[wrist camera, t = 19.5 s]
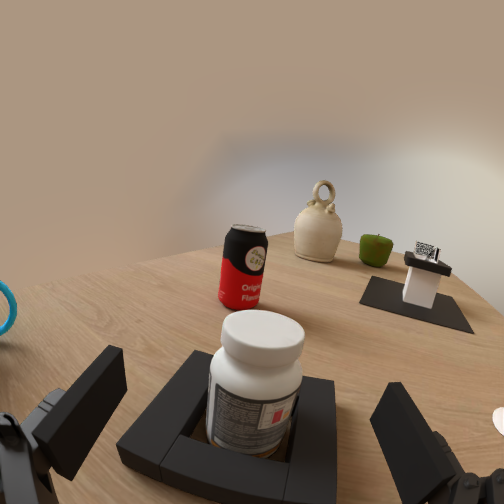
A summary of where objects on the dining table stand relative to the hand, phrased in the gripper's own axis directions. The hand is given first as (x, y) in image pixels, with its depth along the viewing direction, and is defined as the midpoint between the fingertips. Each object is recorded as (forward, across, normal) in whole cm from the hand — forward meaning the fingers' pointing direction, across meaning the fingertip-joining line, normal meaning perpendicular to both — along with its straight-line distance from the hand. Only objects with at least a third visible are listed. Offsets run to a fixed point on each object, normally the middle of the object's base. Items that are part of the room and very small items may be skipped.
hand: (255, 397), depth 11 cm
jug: (+76, +18, -8) cm, 79 cm away
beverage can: (+30, -2, -8) cm, 31 cm away
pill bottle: (+4, 0, -8) cm, 9 cm away
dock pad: (+4, 0, -8) cm, 9 cm away
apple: (+80, +41, -8) cm, 90 cm away
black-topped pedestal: (+44, +39, -8) cm, 59 cm away
